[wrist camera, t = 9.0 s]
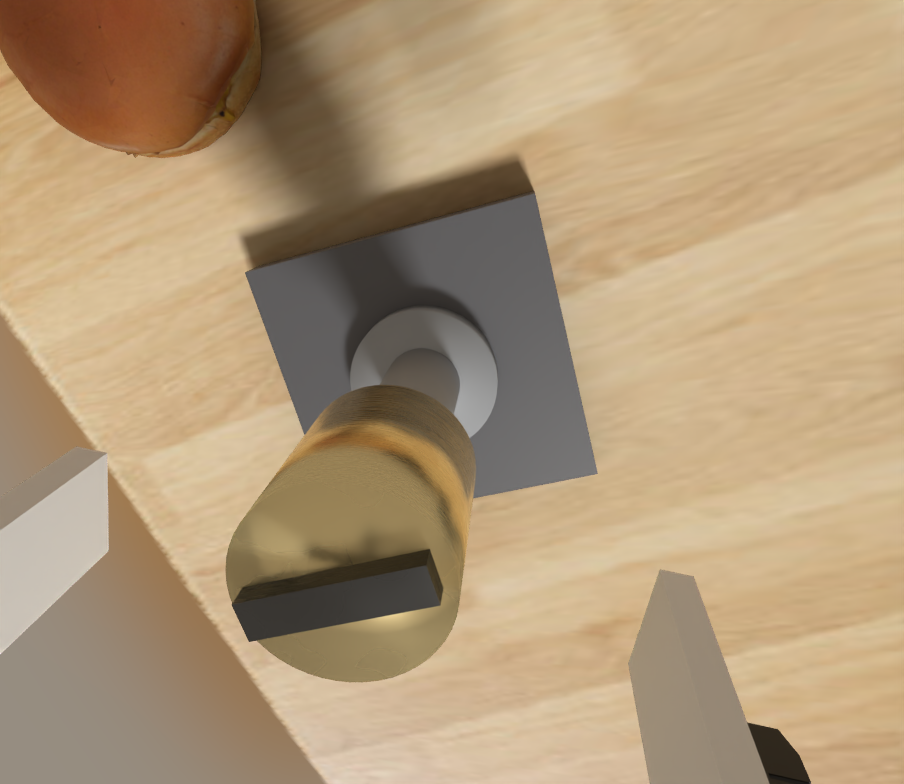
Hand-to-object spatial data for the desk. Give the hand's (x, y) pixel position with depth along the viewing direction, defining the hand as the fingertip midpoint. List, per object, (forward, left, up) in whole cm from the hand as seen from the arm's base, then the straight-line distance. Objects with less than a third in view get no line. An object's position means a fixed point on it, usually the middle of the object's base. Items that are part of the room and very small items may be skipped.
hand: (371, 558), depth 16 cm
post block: (0, 0, -15) cm, 15 cm away
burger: (+7, -16, -15) cm, 23 cm away
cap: (0, 0, -5) cm, 5 cm away
